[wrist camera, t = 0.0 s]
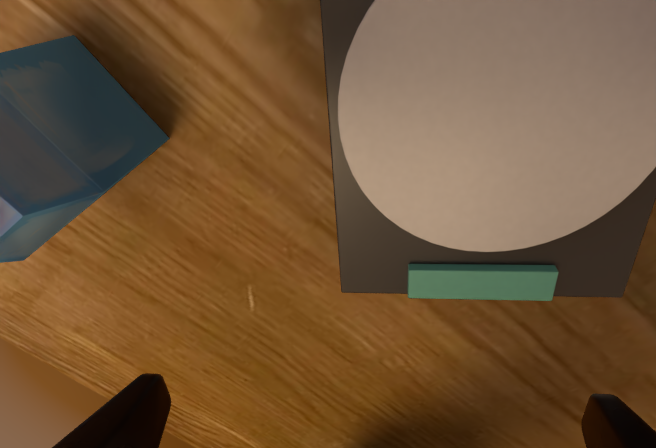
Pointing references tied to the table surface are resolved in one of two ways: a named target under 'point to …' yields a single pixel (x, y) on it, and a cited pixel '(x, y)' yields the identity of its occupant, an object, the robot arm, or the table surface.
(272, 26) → the table surface
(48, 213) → the perfume bottle
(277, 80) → the table surface
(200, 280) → the table surface
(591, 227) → the kitchen scale
